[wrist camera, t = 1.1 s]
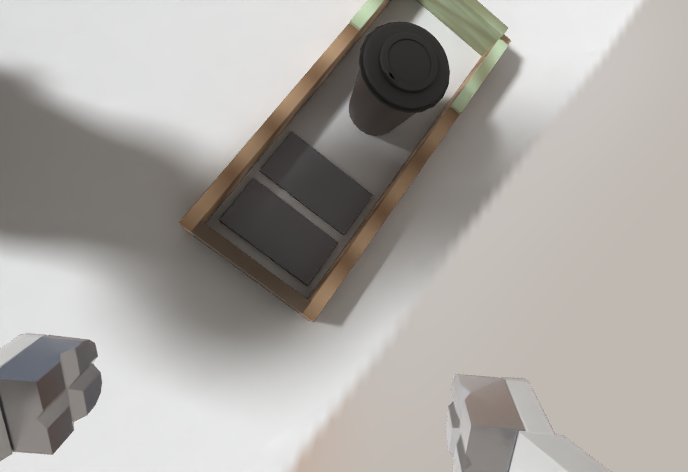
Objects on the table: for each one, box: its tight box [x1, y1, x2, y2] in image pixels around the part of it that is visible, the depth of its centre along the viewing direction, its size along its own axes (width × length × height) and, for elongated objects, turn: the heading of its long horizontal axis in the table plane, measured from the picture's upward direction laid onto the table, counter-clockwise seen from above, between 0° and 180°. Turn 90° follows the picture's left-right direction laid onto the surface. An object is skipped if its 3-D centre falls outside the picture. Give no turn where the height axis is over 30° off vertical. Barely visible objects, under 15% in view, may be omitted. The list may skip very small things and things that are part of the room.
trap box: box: [179, 0, 511, 322], centre depth 43 cm, size 36×14×4 cm, turn 144°
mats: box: [220, 132, 373, 285], centre depth 42 cm, size 11×10×1 cm
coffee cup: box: [349, 22, 450, 135], centre depth 41 cm, size 8×8×10 cm
